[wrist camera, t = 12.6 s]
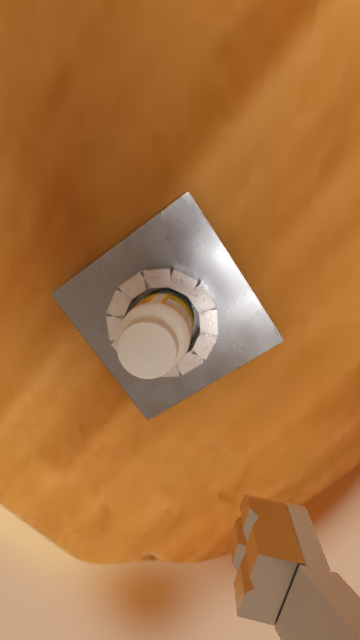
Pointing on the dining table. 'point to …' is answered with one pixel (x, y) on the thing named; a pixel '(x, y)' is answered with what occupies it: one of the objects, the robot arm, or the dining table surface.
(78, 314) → the ring collar plate
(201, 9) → the dining table surface
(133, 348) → the supplement bottle
